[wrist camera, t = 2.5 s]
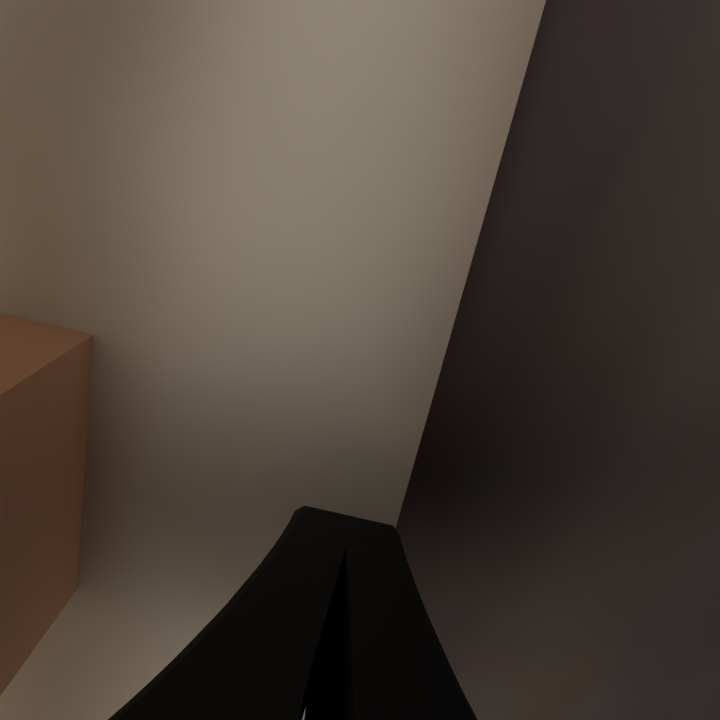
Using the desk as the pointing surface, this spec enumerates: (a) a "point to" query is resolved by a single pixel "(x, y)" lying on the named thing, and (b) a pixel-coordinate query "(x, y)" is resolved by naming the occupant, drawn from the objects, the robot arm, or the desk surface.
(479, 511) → the desk surface
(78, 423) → the block
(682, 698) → the desk surface
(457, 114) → the trap board
